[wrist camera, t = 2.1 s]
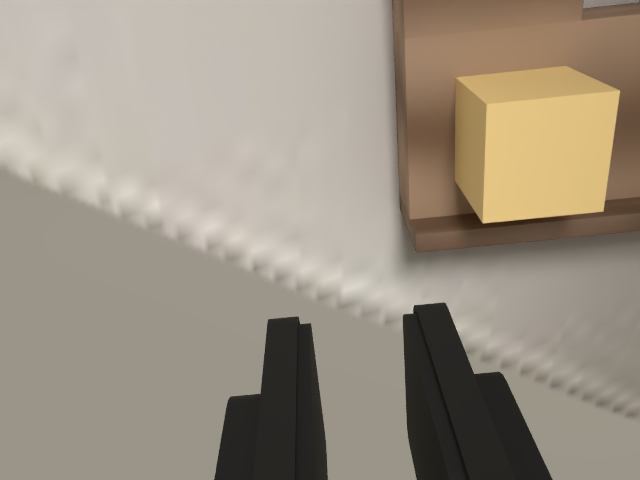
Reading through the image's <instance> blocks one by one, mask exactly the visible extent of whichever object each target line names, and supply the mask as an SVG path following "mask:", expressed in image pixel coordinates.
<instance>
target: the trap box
mask: <svg viewBox="0 0 640 480" xmlns="http://www.w3.org/2000/svg"><path fill="white" fill-rule="evenodd" d="M392 2H393V29H394V56H395V83H396V109H397V136H398V163H399V190H400V209H401V212H402V215H403V217H404V220H405V223H406V225H407V228H408V231H409V234H410V236H411V239H412V242H413V244H414V247H415V250H416V252H426V251H437V250H447V249H457V248H467V247H478V246H488V245H498V244H509V243H519V242H529V241H539V240H550V239H560V238H570V237H580V236H591V235H601V234H611V233H622V232H632V231H640V3H632V4H622V5H613V6H604V7H594V8H585V9H583V0H392ZM562 66H567V67H569V68H572V69H574V70H576V71H578V72H580V73H583V74H585V75H587V76H589V77H591V78H594V79H596V80H598V81H600V82H602V83H605V84H607V85H609V86H611V87H613V88H616V89H618V90H620V95H619V102H618V110H617V117H616V124H615V131H614V139H613V146H612V153H611V160H610V168H609V175H608V182H607V189H606V197H605V204H604V211H603V212H594V213H584V214H574V215H564V216H553V217H543V218H533V219H523V220H513V221H503V222H492V223H482V222H481V220H480V219H479V217H478V215H477V214H476V212H475V211H474V209H473V208H472V206H471V205H470V203H469V202H468V200H467V198H466V197H465V195H464V194H463V192H462V191H461V189H460V188H459V186H458V185H457V183H456V181H455V96H456V77H465V76H475V75H485V74H494V73H504V72H514V71H523V70H533V69H543V68H552V67H562Z"/></svg>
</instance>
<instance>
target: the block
mask: <svg viewBox="0 0 640 480" xmlns="http://www.w3.org/2000/svg"><path fill="white" fill-rule="evenodd" d="M619 95H620V90H618V89H616V88H613V87H611V86H609V85H607V84H605V83H602V82H600V81H598V80H596V79H594V78H591V77H589V76H587V75H585V74H583V73H580V72H578V71H576V70H574V69H572V68H569V67H567V66H562V67H552V68H543V69H533V70H523V71H514V72H504V73H494V74H485V75H475V76H465V77H456V96H455V181H456V183H457V185H458V186H459V188H460V189H461V191H462V192H463V194H464V195H465V197H466V198H467V200H468V202H469V203H470V205H471V206H472V208H473V209H474V211H475V212H476V214H477V215H478V217H479V219H480V220H481V222H482V223H492V222H503V221H513V220H523V219H533V218H543V217H553V216H564V215H574V214H584V213H594V212H603V211H604V204H605V197H606V189H607V182H608V175H609V168H610V160H611V153H612V146H613V139H614V131H615V124H616V117H617V110H618V102H619Z"/></svg>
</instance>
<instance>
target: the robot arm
mask: <svg viewBox="0 0 640 480" xmlns="http://www.w3.org/2000/svg"><path fill="white" fill-rule="evenodd" d="M403 334H404V359H405V383H406V384H405V386H406V411H407V430H408V438H409V444H410V449H411V453H412V458H413V463H414V468H415V473H416V478H417V480H552V478H551V476H550V473H549V471H548V469H547V467H546V465H545V463H544V461H543V459H542V456H541V454H540V452H539V450H538V448H537V446H536V443H535V441H534V439H533V437H532V435H531V433H530V431H529V428H528V427H527V424H526V422H525V420H524V418H523V416H522V413H521V411H520V409H519V407H518V405H517V403H516V401H515V399H514V396H513V395H512V392H511V390H510V388H509V386H508V383H507V381H506V380H505V378H504V376H503V374H501V373H500V372H493V373H482V374H474V373H473V370H472V368H471V365H470V363H469V360H468V357H467V355H466V352H465V350H464V347H463V345H462V342H461V340H460V337H459V335H458V332H457V330H456V327H455V325H454V322H453V320H452V317H451V315H450V312H449V310H448V307H447V305H446V303H434V304H424V305H414V309H413V314H404V315H403ZM261 386H262V387H261V394H255V395H244V396H234V397H230V398H229V400H228V403H227V408H226V414H225V420H224V426H223V431H222V437H221V444H220V449H219V456H218V461H217V467H216V474H215V479H214V480H328V476H327V454H326V440H325V431H324V422H323V415H322V407H321V399H320V391H319V383H318V376H317V368H316V360H315V351H314V344H313V337H312V328H311V324H310V323H309V324H300V322H299V317H288V318H278V319H269V320H268V324H267V334H266V344H265V354H264V365H263V375H262V385H261Z"/></svg>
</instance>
